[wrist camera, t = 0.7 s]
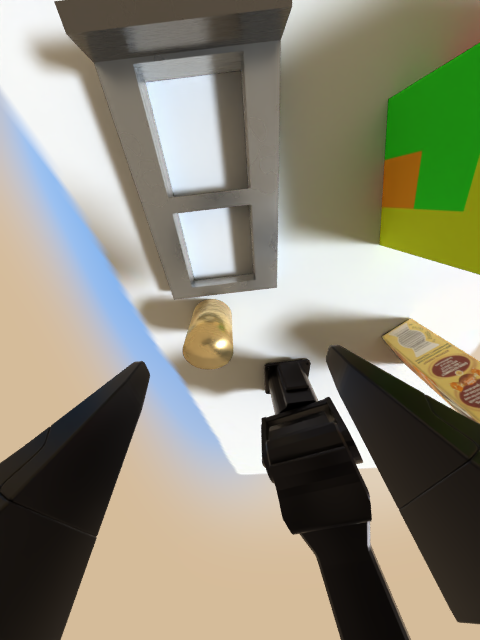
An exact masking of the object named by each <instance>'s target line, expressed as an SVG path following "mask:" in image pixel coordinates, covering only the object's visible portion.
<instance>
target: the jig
mask: <svg viewBox="0 0 480 640" xmlns="http://www.w3.org/2000/svg"><path fill="white" fill-rule="evenodd" d="M54 2H55V5H56V7H57V10H58V13H59V16H60V18H61V21H62V24H63V26H64V29H65V32H66V34H67V35H68V36H69V37H70V38H71V39H72V40H73V42H74V43H75V44H76V45H77V46H78V47H79V48H80V49H81V50H82V51H83V52H84V53H85V54H86V55H87V56H88V57H89V58H90V59H91V60H92V61H93V62H94V64H95V67H96V70H97V73H98V76H99V79H100V82H101V85H102V88H103V91H104V94H105V97H106V100H107V103H108V106H109V109H110V112H111V115H112V118H113V121H114V123H115V126H116V129H117V132H118V135H119V138H120V141H121V144H122V147H123V150H124V153H125V156H126V159H127V162H128V165H129V168H130V171H131V174H132V177H133V180H134V183H135V186H136V189H137V192H138V195H139V198H140V200H141V203H142V206H143V209H144V212H145V215H146V218H147V221H148V224H149V227H150V230H151V233H152V236H153V239H154V242H155V245H156V248H157V251H158V254H159V257H160V260H161V263H162V266H163V269H164V272H165V275H166V277H167V280H168V283H169V286H170V289H171V292H172V295H173V298H174V300H175V299H183V298H192V297H200V296H209V295H217V294H226V293H234V292H243V291H252V290H260V289H269V288H277V243H278V179H279V115H280V51H281V38H282V35H283V32H284V29H285V26H286V23H287V20H288V17H289V14H290V11H291V8H292V0H62V1H54ZM233 71H241V74H242V91H243V108H244V125H245V142H246V158H247V175H248V188H247V189H239V190H230V191H222V192H213V193H205V194H197V195H188V196H180V197H174V195H173V191H172V187H171V183H170V179H169V175H168V171H167V167H166V163H165V159H164V155H163V151H162V147H161V143H160V139H159V135H158V131H157V127H156V123H155V119H154V115H153V111H152V107H151V103H150V99H149V95H148V91H147V87H146V83H145V82H150V81H159V80H167V79H175V78H183V77H192V76H200V75H208V74H216V73H225V72H233ZM243 205H249V209H250V226H251V243H252V260H253V274H246V275H237V276H229V277H220V278H212V279H203V280H195V279H194V275H193V271H192V267H191V263H190V259H189V255H188V251H187V247H186V243H185V239H184V235H183V231H182V227H181V223H180V219H179V215H178V213H184V212H192V211H200V210H209V209H217V208H226V207H234V206H243Z"/></svg>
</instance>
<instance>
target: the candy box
mask: <svg viewBox="0 0 480 640" xmlns="http://www.w3.org/2000/svg"><path fill="white" fill-rule="evenodd" d="M382 338H383V339H384V340H385V342H386V343H387V344H388V345H389V346H390V348H391V349H392V350H393V351H394V352H395V353H396V354H397V356H398V357H399V358H400V359H401V360H402V361H403V362H404V364H405V365H406V366H408V367H409V368H410V369H411V370H412V371H413V372H414V373H415V374H416V375H418V376H419V377H420V378H421V379H422V380H423V381H424V382H425V383H426V384H427V385H429V386H430V387H431V388H432V389H433V390H434V391H435V392H436V393H437V394H439V395H440V396H441V397H442V398H443V399H444V400H445V401H446V402H447V403H449V404H450V405H451V406H452V407H453V408H454V409H455V410H457V412H459V413H460V414H462V415H464V416H466V417H468V418H470V419H472V420H473V421H475V422H477V423H479V424H480V361H478V360H476V359H475V358H473V357H472V356H470V355H468V354H467V353H465V352H464V351H462V350H460V349H459V348H457V347H456V346H454V345H452V344H451V343H449V342H448V341H446V340H444V339H443V338H441V337H440V336H438V335H436V334H435V333H433V332H432V331H430V330H429V329H427V328H425V327H424V326H422V325H421V324H419V323H417V322H416V321H414V320H413V319H411V318H410V319H409V320H407V321H406V322H404V323H403V324H401V325H399V326H398V327H396V328H395V329H393V330H392V331H390V332H389V333H387V334H385V335H384V336H383V337H382Z"/></svg>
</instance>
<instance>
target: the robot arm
mask: <svg viewBox="0 0 480 640" xmlns="http://www.w3.org/2000/svg"><path fill="white" fill-rule="evenodd" d="M326 362H327V365H328V367H329V370H330V373H331V375H332V378H333V380H334V383H335V386H336V388H337V390H338V393H339V395H340V397H341V399H342V400H343V402H344V404H345V406H346V408H347V410H348V412H349V414H350V416H351V418H352V420H353V422H354V424H355V426H356V428H357V429H358V431H359V433H360V435H361V437H362V439H363V441H364V443H365V445H366V447H367V449H368V451H369V453H370V455H371V457H372V459H373V460H374V462H375V464H376V466H377V468H378V470H379V472H380V474H381V476H382V478H383V480H384V482H385V484H386V486H387V487H388V489H389V491H390V493H391V495H392V497H393V499H394V501H395V503H396V505H397V507H398V508H399V511H400V513H401V515H402V517H403V519H404V521H405V523H406V524H407V526H408V528H409V530H410V532H411V534H412V536H413V538H414V540H415V542H416V544H417V546H418V548H419V550H420V552H421V554H422V556H423V557H424V559H425V561H426V563H427V565H428V567H429V569H430V571H431V573H432V575H433V577H434V579H435V581H436V583H437V584H438V586H439V588H440V590H441V592H442V594H443V596H444V598H445V600H446V602H447V604H448V606H449V608H450V610H451V611H452V613H453V615H454V617H455V618H456V620H457V621H458V622H460V623H472V624H480V424H479V423H477V422H475V421H473V420H472V419H470V418H468V417H466V416H464V415H462V414H460V413H458V412H456V411H454V410H453V409H451V408H449V407H447V406H445V405H444V404H442V403H440V402H438V401H436V400H435V399H433V398H431V397H429V396H428V395H424V393H422V392H421V391H419V390H417V389H415V388H414V387H412V386H410V385H408V384H407V383H405V382H403V381H401V380H400V379H398V378H396V377H394V376H392V375H391V374H389V373H387V372H385V371H384V370H382V369H380V368H378V367H377V366H375V365H373V364H371V363H370V362H368V361H366V360H364V359H363V358H361V357H359V356H357V355H356V354H354V353H352V352H350V351H349V350H347V349H345V348H343V347H342V346H340V345H331V346H330V347H329V349H328V353H327V356H326ZM310 364H311V363H310V361H309V360H308V359H305V360H296V361H288V362H279V363H270V364H266V365H265V366H264V374H265V392H266V394H271V398H272V402H273V407H274V411H275V415H273V416H270V417H264V418H262V425H261V437H262V464H263V466H264V467H265V468H266V470H267V473H268V476H269V478H270V480H271V481H272V482H273V483H274V484H275V486H276V490H277V494H278V499H279V503H280V508H281V513H282V517H283V520H284V521H285V523H286V525H287V527H288V528H289V530H290V532H291V533H292V534H293V535H294V534H300V535H301V536H302V538H303V539H304V540H305V542H306V543H307V544H308V546H309V547H310V548H311V550H312V551H313V552H314V554H315V555H316V558H317V561H318V564H319V567H320V570H321V574H322V577H323V581H324V584H325V587H326V591H327V594H328V597H329V600H330V604H331V607H332V611H333V614H334V617H335V621H336V624H337V628H338V631H339V634H340V638H341V640H411V639H410V636H409V634H408V632H407V629H406V627H405V624H404V622H403V620H402V617H401V615H400V613H399V610H398V608H397V606H396V603H395V601H394V599H393V596H392V594H391V591H390V589H389V587H388V584H387V582H386V580H385V577H384V575H383V573H382V570H381V568H380V566H379V564H378V561H377V558H376V556H375V554H374V551H373V549H372V547H371V544H370V521H371V520H372V518H371V503H370V496H369V492H368V489H367V487H366V485H365V483H364V481H363V479H362V476H361V474H360V472H359V470H358V468H357V466H356V464H359V463H363V460H362V458H361V455H360V453H359V451H358V449H357V447H356V445H355V443H354V441H353V439H352V437H351V435H350V433H349V431H348V429H347V427H346V425H345V424H344V422H343V420H342V418H341V416H340V415H339V413H338V411H337V409H336V408H335V406H334V404H333V402H332V400H331V399H330V397H327V398H325V399H323V400H320V401H318V399H317V397H316V395H315V393H314V390H313V388H312V386H311V384H310V382H309V379H308V376H309V370H310ZM149 378H150V373H149V371H148V369H147V367H146V365H145V363H144V362H143V361H140V362H134V363H132V364H131V365H129V366H128V367H127V368H126V369H124V370H123V371H122V372H120V373H119V374H118V375H116V376H115V377H114V378H113V379H112V380H110V381H109V382H107V383H106V384H105V385H103V386H102V387H101V388H100V389H98V390H97V391H96V392H94V393H93V394H92V395H90V396H89V397H88V398H86V399H85V400H84V401H82V402H81V403H80V404H79V405H77V406H76V407H75V408H73V409H72V410H71V411H69V412H68V413H67V414H66V415H64V416H63V417H62V418H60V419H59V420H58V421H56V422H55V423H54V424H53V425H51V427H48V428H47V429H46V430H45V431H43V432H42V433H41V434H39V435H38V436H37V437H35V438H34V439H33V440H31V441H30V442H29V443H27V444H26V445H25V446H24V447H22V448H21V449H19V450H18V451H17V452H15V453H14V454H12V455H11V456H10V457H8V458H7V459H6V460H4V461H3V462H1V463H0V640H61V637H62V634H63V631H64V628H65V626H66V623H67V620H68V617H69V614H70V612H71V609H72V606H73V603H74V600H75V597H76V595H77V591H78V589H79V586H80V583H81V581H82V578H83V575H84V572H85V569H86V566H87V563H88V560H89V558H90V555H91V552H92V549H93V547H94V544H95V541H96V536H97V535H98V532H99V529H100V526H101V524H102V521H103V518H104V515H105V512H106V509H107V507H108V504H109V501H110V498H111V495H112V492H113V490H114V487H115V484H116V481H117V478H118V475H119V473H120V469H121V467H122V464H123V461H124V459H125V456H126V453H127V450H128V447H129V444H130V442H131V439H132V436H133V433H134V430H135V427H136V424H137V422H138V419H139V416H140V413H141V410H142V407H143V403H144V399H145V395H146V391H147V387H148V383H149Z"/></svg>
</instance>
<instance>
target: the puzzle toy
mask: <svg viewBox="0 0 480 640" xmlns="http://www.w3.org/2000/svg"><path fill="white" fill-rule="evenodd" d="M379 245H382V246H385V247H388V248H392V249H395V250H399V251H402V252H405V253H409V254H412V255H415V256H419V257H422V258H425V259H429V260H432V261H436V262H439V263H442V264H446V265H449V266H452V267H456V268H459V269H462V270H466V271H469V272H473V273H476V274H479V275H480V43H478V44H477V45H475V46H473V47H472V48H470V49H469V50H467V51H465V52H464V53H462V54H461V55H459V56H457V57H456V58H454V59H452V60H451V61H449V62H448V63H446V64H444V65H443V66H441V67H440V68H438V69H436V70H435V71H433V72H431V73H430V74H428V75H427V76H425V77H423V78H422V79H420V80H419V81H417V82H415V83H414V84H412V85H410V86H409V87H407V88H406V89H404V90H402V91H401V92H399V93H398V94H396V95H394V96H393V97H391V98H389V99H388V112H387V129H386V145H385V162H384V178H383V194H382V211H381V227H380V244H379Z"/></svg>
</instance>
